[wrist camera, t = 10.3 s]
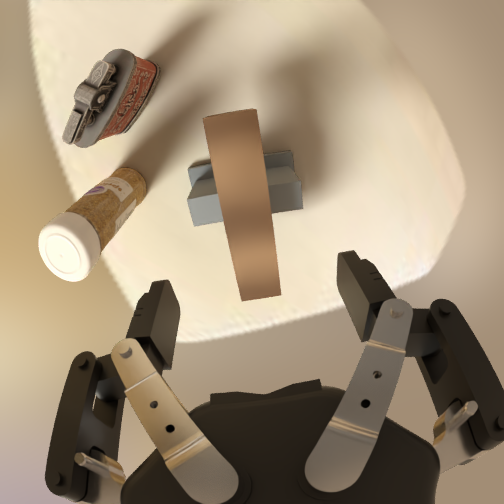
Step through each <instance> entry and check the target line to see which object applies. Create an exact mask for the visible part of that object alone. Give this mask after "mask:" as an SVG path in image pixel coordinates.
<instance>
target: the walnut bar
mask: <svg viewBox="0 0 504 504" xmlns="http://www.w3.org/2000/svg"><path fill="white" fill-rule="evenodd" d="M203 123H204V128H205V133H206V139H207V144H208V149H209V154H210V159H211V164H212V168H213V173H214V178H215V183H216V188H217V193H218V197H219V202H220V207H221V211H222V216H223V221H224V225H225V230H226V234H227V239H228V243H229V248H230V252H231V257H232V261H233V266H234V270H235V274H236V279H237V283H238V287H239V292H240V296H241V300H242V301H247V300H254V299H261V298H267V297H273V296H279V295H281V289H280V280H279V271H278V262H277V254H276V246H275V238H274V230H273V222H272V214H271V206H270V199H269V191H268V184H267V177H266V170H265V163H264V156H263V149H262V142H261V135H260V129H259V122H258V116H257V109H246V110H239V111H233V112H227V113H222V114H216V115H211V116H207V117H205V118H203Z"/></svg>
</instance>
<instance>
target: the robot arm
mask: <svg viewBox="0 0 504 504" xmlns="http://www.w3.org/2000/svg"><path fill="white" fill-rule="evenodd" d="M337 286H338V290H339V293H340V295H341V297H342V299H343V301H344V303H345V306H346V308H347V310H348V312H349V315H350V317H351V319H352V321H353V323H354V326H355V328H356V331H357V333H358V335H359V337H360V340H361V342H364V341H368V340H369V341H368V342H367V344H366V346H365V349H364V351H363V353H362V356H361V358H360V361H359V363H358V365H357V368H356V370H355V372H354V375H353V377H352V379H351V381H350V384H349V386H348V388H347V390H346V391H345V390H342V389H339V388H335V387H329V386H321V382H320V379H317V380H312V381H307V382H301V383H296V384H292V385H289V386H287V387H284V388H282V389H279V390H276V391H274V392H271V393H269V394H253V393H244V392H227V393H214V394H211V395H210V401H209V402H206V403H204V404H201V405H200V406H198V407H196V408H195V409H193V410H192V411H190V412H188V411H187V410H186V409H185V407H184V406H183V404H182V403H181V402H180V401H179V399H178V398H177V397H176V395H175V394H174V393H173V391H172V390H171V388H170V387H169V386H168V384H167V383H166V381H165V380H164V379H163V377H162V371H163V370H171V368H172V361H173V355H174V348H175V342H176V336H177V331H178V325H179V319H180V306H179V303H178V300H177V298H176V296H175V293H174V291H173V288H172V286H171V283H170V281H169V280H161V281H154V282H152V284H151V287H150V290H149V293H144V295H143V296H142V297H141V298H140V299H139V301H138V303H137V306H136V310H135V312H134V317H132V320H131V323H130V326H129V329H128V332H127V335H126V338H125V339H123V340H121V341H119V342H118V343H117V344H116V345H115V346H114V347H113V349H112V352H111V354H108V355H105V356H102V357H98V358H96V357H95V355H94V354H93V353H92V352H88V351H86V352H82V353H80V354H79V355H77V356H76V357H75V359H74V360H73V362H72V364H71V367H70V370H69V374H68V377H67V379H66V383H65V386H64V389H63V393H62V396H61V400H60V403H59V407H58V411H57V415H56V419H55V423H54V428H53V432H52V437H51V442H50V447H49V452H48V458H47V465H46V472H45V481H46V485H47V487H48V488H49V490H50V491H51V492H52V493H54V494H55V495H58V496H60V497H63V498H66V499H68V500H70V501H73V502H75V503H78V504H435V493H436V487H437V482H438V479H439V474H440V473H443V472H445V471H447V470H449V469H451V468H453V467H455V466H457V465H465V464H467V463H469V462H471V461H472V460H474V459H476V458H478V457H479V456H481V455H483V454H484V453H486V452H488V451H489V450H491V449H493V448H494V447H496V446H497V445H498V444H500V443H502V442H503V441H504V390H503V388H502V385H501V383H500V381H499V379H498V377H497V375H496V373H495V371H494V369H493V367H492V365H491V363H490V361H489V360H488V358H487V356H486V354H485V352H484V350H483V349H482V347H481V345H480V343H479V342H478V340H477V338H476V337H475V335H474V333H473V332H472V330H471V328H470V327H469V325H468V323H467V322H466V320H465V319H464V317H463V316H462V314H461V313H460V311H459V310H458V308H457V307H456V305H455V304H454V303H452V302H451V301H449V300H446V299H437V300H435V301H433V302H432V304H431V306H430V309H414V308H412V307H411V306H410V304H409V303H407V302H406V301H404V300H402V299H397V298H396V297H395V295H394V293H393V292H392V290H391V289H390V287H389V286H388V284H387V283H386V281H385V280H384V279H383V277H382V275H381V274H380V273H379V271H378V270H377V268H376V267H375V265H374V264H373V263H371V262H370V261H368V260H367V259H362V260H361V259H360V258H359V256H358V255H357V253H356V252H355V251H354V250H352V251H346V252H341V253H338V260H337ZM404 357H415V358H416V360H417V363H418V365H419V368H420V370H421V372H422V375H423V377H424V380H425V382H426V385H427V387H428V390H429V392H430V395H431V397H432V400H433V403H434V406H435V409H436V411H437V414H438V417H439V418H438V419H437V420H436V422H435V424H434V428H433V434H434V441H433V445H431V444H430V443H429V442H427V441H426V440H424V439H422V438H421V437H419V436H417V435H416V434H414V433H412V432H410V431H409V430H407V429H405V428H404V427H402V426H400V425H399V424H397V423H396V422H394V421H392V420H391V419H389V418H388V417H386V413H387V411H388V408H389V405H390V403H391V400H392V397H393V394H394V391H395V388H396V385H397V382H398V379H399V375H400V372H401V368H402V365H403V361H404ZM95 395H96V399H95V404H94V409H92V407H93V402H94V398H95ZM126 397H127V398H128V400H129V402H130V404H131V406H132V408H133V409H134V411H135V413H136V415H137V416H138V418H139V420H140V421H141V423H142V425H143V427H144V428H145V430H146V432H147V433H148V435H149V436H150V438H151V440H152V441H153V443H154V444H155V446H156V447H157V448H156V449H155V450H154V452H153V453H152V454H151V455H150V456H149V457H148V458H147V459H146V460H145V461H144V462H143V463H142V464H141V465H140V466H139V467H138V468H137V469H136V470H135V471H134V472H133V473H132V474H131V475H130V476H129V477H128V479H127V480H126V476H125V474H124V471H123V468H122V466H121V465H120V464H119V463H118V462H117V459H118V448H119V439H120V430H121V422H122V415H123V408H124V401H125V398H126ZM125 480H126V481H125Z"/></svg>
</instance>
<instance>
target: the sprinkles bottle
mask: <svg viewBox="0 0 504 504" xmlns="http://www.w3.org/2000/svg"><path fill="white" fill-rule="evenodd" d="M145 194H146V183H145V181H144V179H143V177H142V176H141V175H140V174H139V173H138V172H137V171H136V170H134V169H131V168H120V169H118V170H116V171H115V172H114V173H113V174H112V175H111V176H110V177H108V178H107V179H104V180H103V181H101V182H100V183H99V184H97V185H96V186H95V187H94V188H92V189H91V190H90V191H88V192H87V193H86V194H84V195H83V196H82V198H80V199H79V200H78V201H77V202H76V203H74V204H73V205H72V206H71V207H70V208H69V209H67V210H66V211H65V212H64V213H60V214H58V215H57V216H56V217H54V218H53V219H52V220H51V221H49V222H48V223H47V225H45V226H44V228H43V229H42V230H41V232H40V235H39V250H40V254H41V257H42V259H43V261H44V262H45V264H46V265H47V267H48V268H49V269H50V270H51V271H52V272H53V273H54V274H55V275H57V276H58V277H60V278H62V279H64V280H67V281H73V282H75V281H80V280H82V279H84V278H85V277H87V275H88V274H89V273H90V271H91V270H92V269H93V268H94V266H95V265H96V263H97V261H98V260H99V257H100V255H101V252H102V250H103V249H104V248H105V246H106V245H107V244H108V243H109V241H110V240H111V239H112V238H113V237H114V236H115V234H116V233H117V232H118V230H119V229H120V228H121V226H122V225H123V224H124V223H125V221H126V220H127V219H128V218H129V216H130V215H131V214H132V212H133V211H134V209H135V208H136V206H137V205H139V204H140V203H141V202H142V201H143V199H144V197H145Z"/></svg>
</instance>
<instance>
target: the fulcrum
mask: <svg viewBox="0 0 504 504" xmlns="http://www.w3.org/2000/svg"><path fill="white" fill-rule="evenodd" d="M263 156H264V163H265V170H266V177H267V184H268V191H269V199H270V206H271V214H272V213H278V212H285V211H292V210H299V209H303V201H302V189H301V181H300V179H299V178H298V177H297V176H296V174H295V173H294V163H293V154H292V151H284V152H276V153H269V154H263ZM188 173H189V177H190V182H191V186H192V190H191V192H190V194H189V196H188V199H187V202H188V206H189V209H190V213H191V217H192V221H193V224H194V226H200V225H206V224H211V223H217V222H223V216H222V211H221V207H220V202H219V197H218V193H217V188H216V183H215V178H214V173H213V168H212V164H211V163H209V164H204V165H199V166H194V167H189V168H188Z"/></svg>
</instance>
